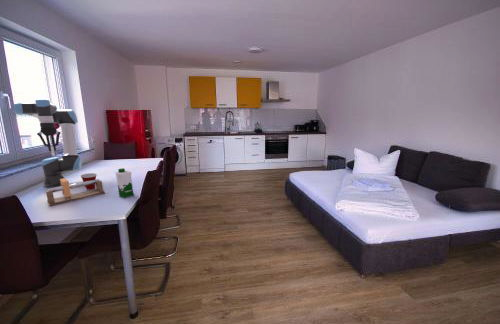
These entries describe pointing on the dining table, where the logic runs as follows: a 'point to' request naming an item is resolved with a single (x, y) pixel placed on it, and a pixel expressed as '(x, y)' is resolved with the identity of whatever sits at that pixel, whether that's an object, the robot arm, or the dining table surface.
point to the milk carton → (124, 183)
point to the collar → (65, 187)
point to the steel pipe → (75, 185)
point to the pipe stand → (74, 195)
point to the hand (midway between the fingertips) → (53, 155)
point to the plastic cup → (88, 178)
